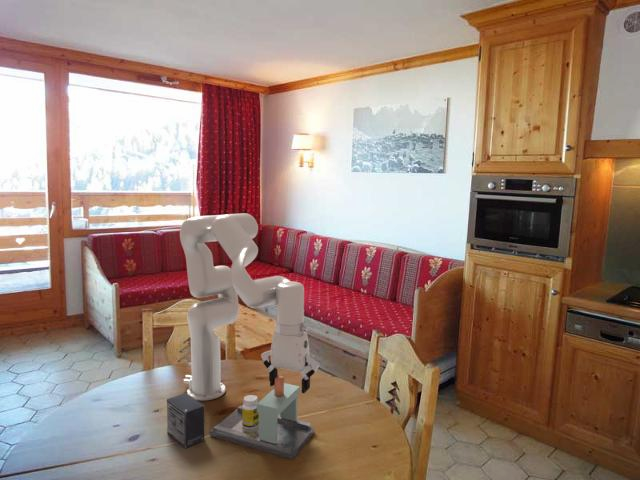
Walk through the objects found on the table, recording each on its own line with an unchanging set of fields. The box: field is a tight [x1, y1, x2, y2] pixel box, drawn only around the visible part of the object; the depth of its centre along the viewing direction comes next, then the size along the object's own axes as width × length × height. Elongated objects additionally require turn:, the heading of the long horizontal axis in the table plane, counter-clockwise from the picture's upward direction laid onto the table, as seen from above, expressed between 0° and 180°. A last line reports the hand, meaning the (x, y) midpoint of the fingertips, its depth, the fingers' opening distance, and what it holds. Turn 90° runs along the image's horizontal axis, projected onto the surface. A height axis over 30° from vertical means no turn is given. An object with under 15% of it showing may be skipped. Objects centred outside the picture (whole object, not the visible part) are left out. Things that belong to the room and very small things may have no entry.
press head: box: [257, 375, 301, 444], centre depth 129 cm, size 6×14×15 cm, turn 157°
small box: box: [166, 392, 205, 449], centre depth 130 cm, size 11×6×10 cm, turn 45°
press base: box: [209, 405, 315, 461], centre depth 132 cm, size 26×14×3 cm, turn 67°
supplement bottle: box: [241, 394, 259, 429], centre depth 133 cm, size 5×5×8 cm
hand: (289, 387), depth 127 cm, fingers open, 9 cm apart
